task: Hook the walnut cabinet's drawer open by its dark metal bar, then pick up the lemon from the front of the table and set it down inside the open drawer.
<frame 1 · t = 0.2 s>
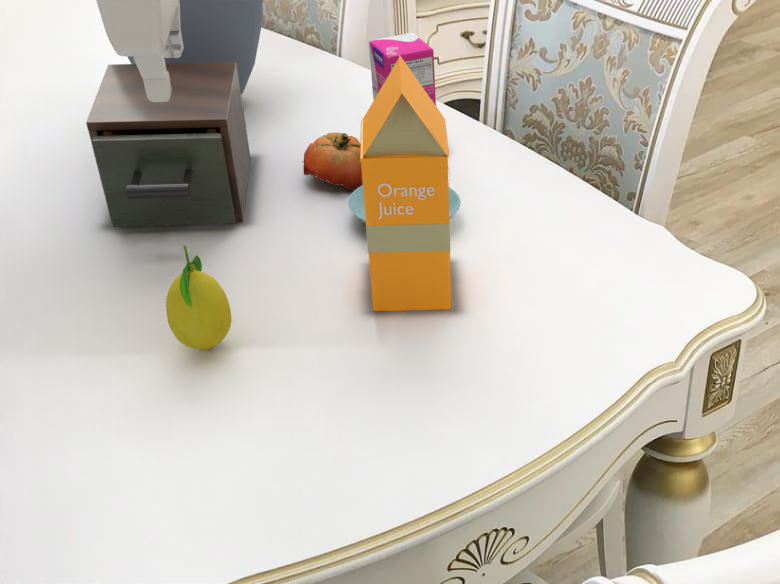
hand: (167, 76, 90), 21 cm above the table, tool pointing down, fingers open, 8 cm apart
orange juice: (411, 289, 109), on the table
lemon: (207, 352, 100), on the table
drawer: (170, 163, 115), point 5 cm above the table, slide at 1.0 cm
supplement box: (407, 148, 132), on the table
cabinet: (184, 190, 122), on the table
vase: (202, 107, 139), on the table
tomato: (339, 180, 125), on the table
saucer: (405, 223, 119), on the table
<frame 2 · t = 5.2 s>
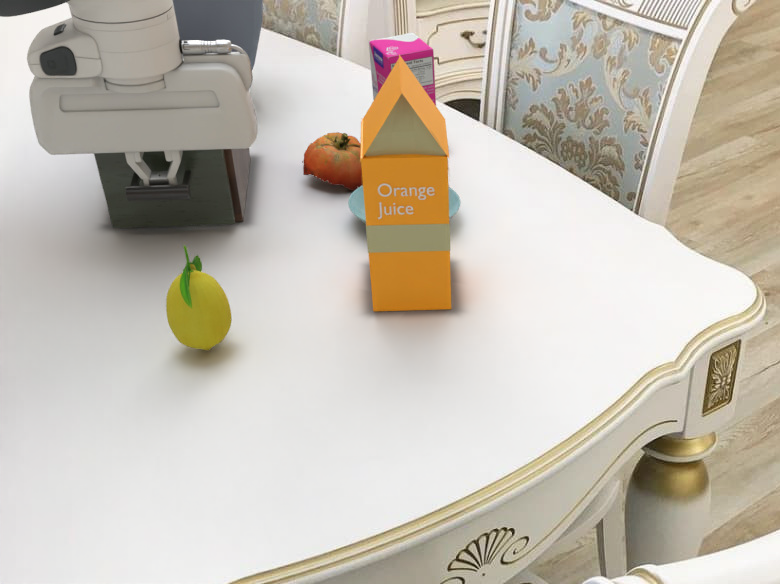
hand: (163, 192, 110), 6 cm above the table, tool pointing down, fingers closed
drawer: (170, 164, 115), point 5 cm above the table, slide at 1.3 cm, touching gripper
everything else where it was.
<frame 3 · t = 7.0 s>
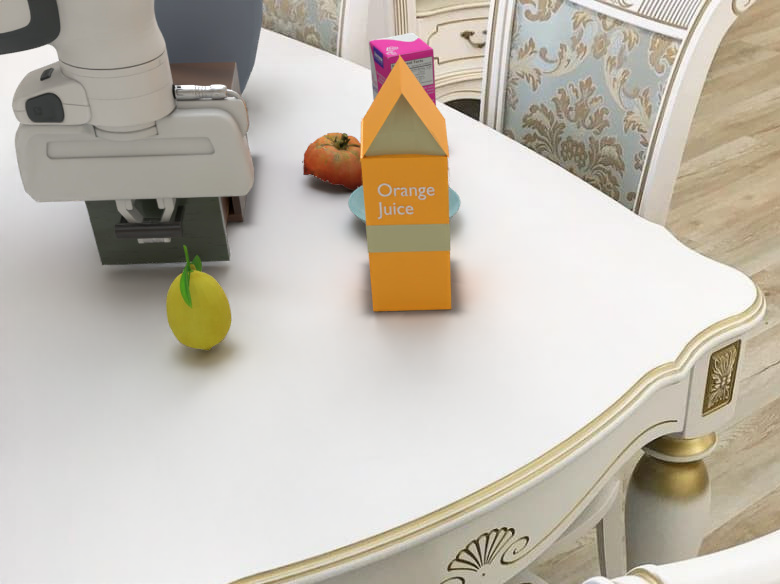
hand: (155, 240, 105), 5 cm above the table, tool pointing down, fingers closed, pressing on drawer
drawer: (162, 198, 109), point 5 cm above the table, slide at 9.1 cm, touching gripper
everything else where it was.
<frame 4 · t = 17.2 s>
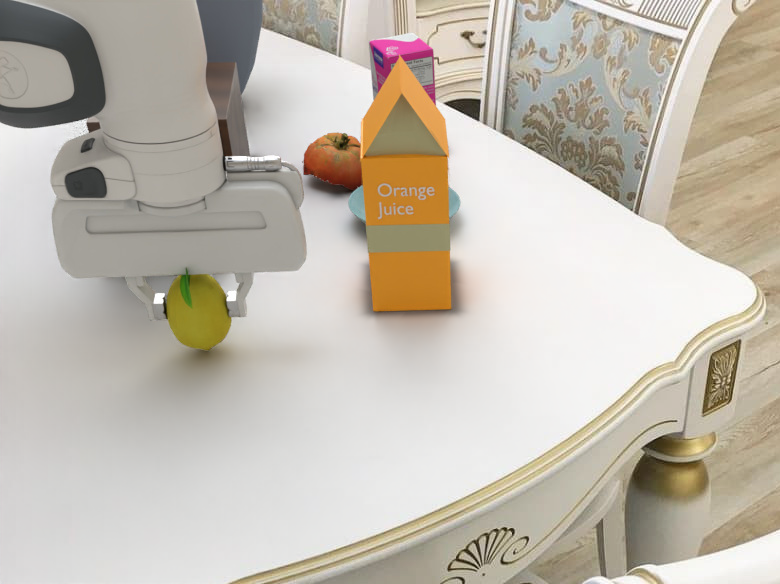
hand: (198, 315, 98), 4 cm above the table, tool pointing down, fingers closed on lemon, 5 cm apart
lemon: (207, 353, 100), on the table, touching gripper
drawer: (161, 198, 109), point 5 cm above the table, slide at 9.1 cm
everything else where it was.
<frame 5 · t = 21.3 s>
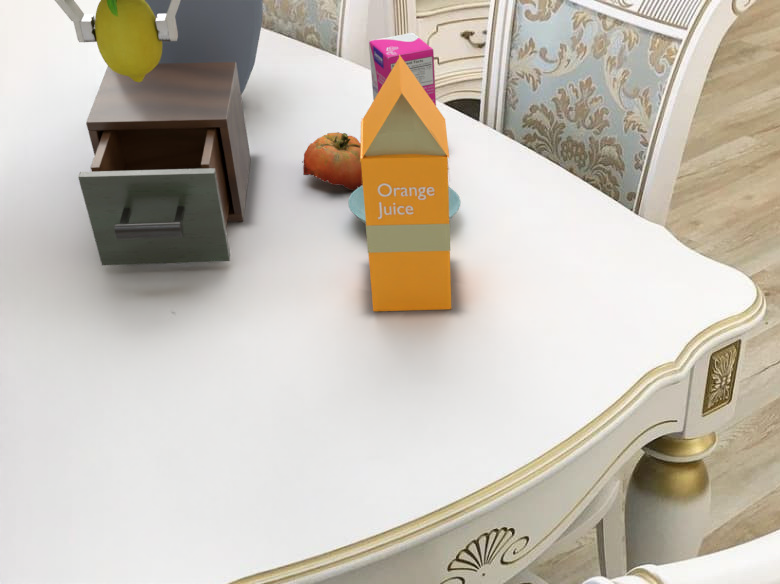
hand: (128, 39, 97), 21 cm above the table, tool pointing down, fingers closed on lemon, 5 cm apart
lemon: (139, 85, 99), point 17 cm above the table, touching gripper
everything else where it was.
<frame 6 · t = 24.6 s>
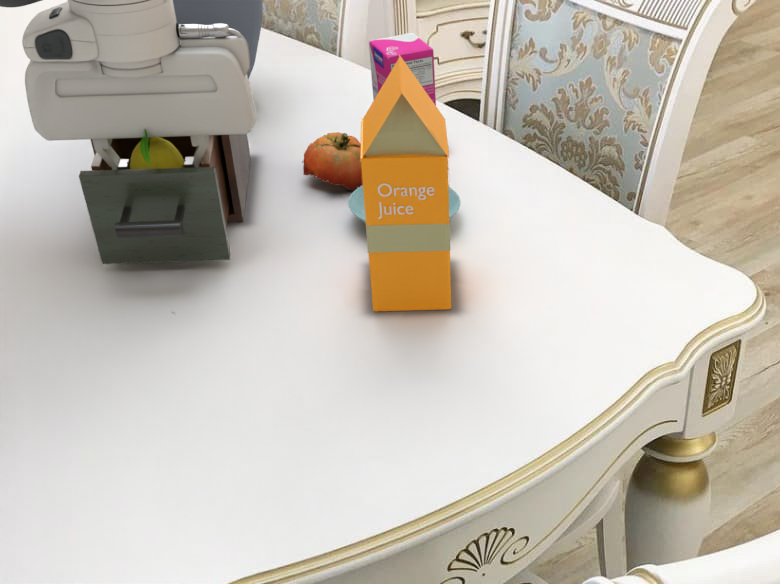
hand: (160, 179, 108), 7 cm above the table, tool pointing down, fingers closed on lemon, 5 cm apart
lemon: (169, 217, 111), point 3 cm above the table, touching drawer, gripper
drawer: (162, 197, 110), point 5 cm above the table, slide at 8.9 cm, touching gripper, lemon
everything else where it was.
when the fingers open (9 cm above the table, at t = 26.0 s): lemon stays where it is, resting on cabinet, drawer.
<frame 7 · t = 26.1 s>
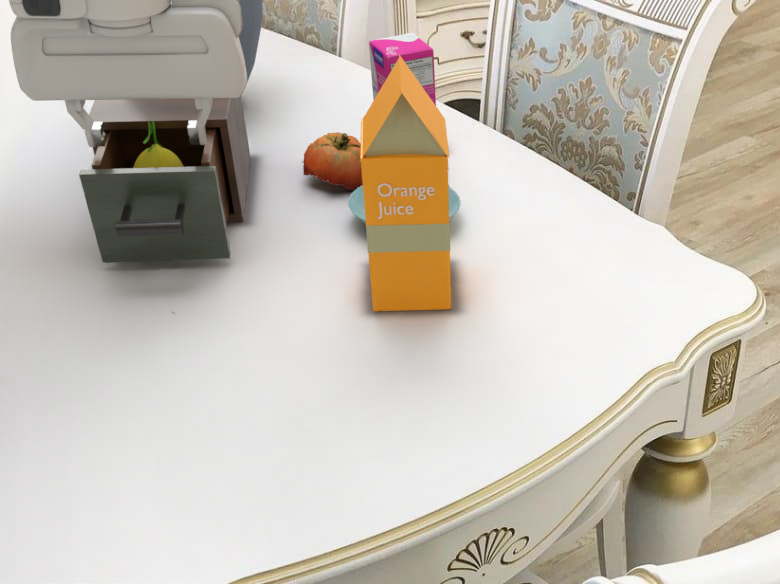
hand: (148, 143, 106), 10 cm above the table, tool pointing down, fingers open, 8 cm apart
lemon: (166, 226, 110), point 3 cm above the table, touching cabinet, drawer
drawer: (162, 196, 110), point 5 cm above the table, slide at 8.6 cm, touching lemon
everything else where it was.
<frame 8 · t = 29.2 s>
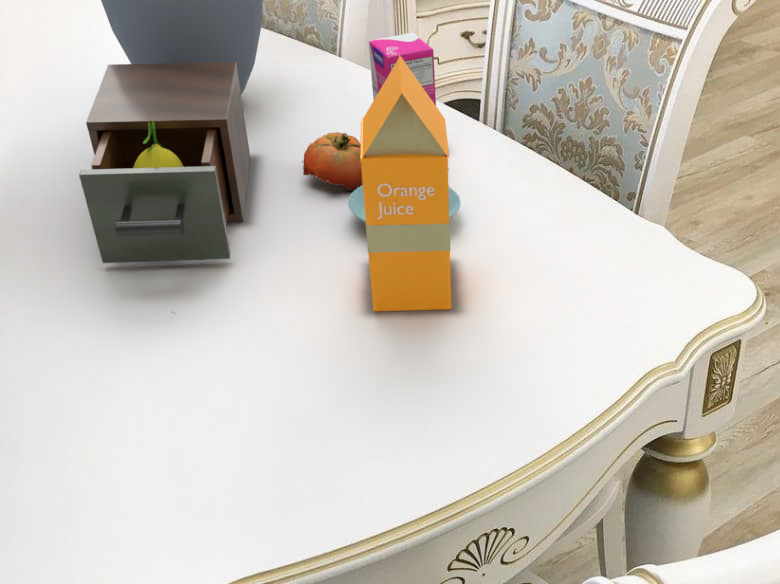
nothing on the table moved.
at the end: drawer slide at 8.7 cm; lemon inside the target area in the drawer (5.7 cm from its centre), point 3.0 cm above the cabinet's base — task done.
